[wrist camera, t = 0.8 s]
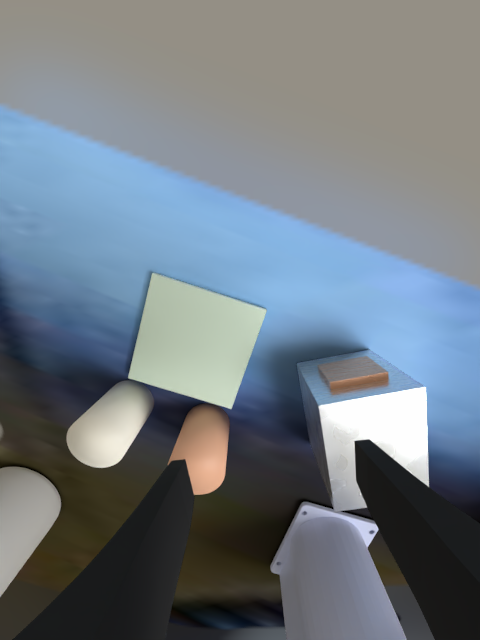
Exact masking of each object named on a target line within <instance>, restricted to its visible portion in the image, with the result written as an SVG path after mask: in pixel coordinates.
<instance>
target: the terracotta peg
mask: <svg viewBox="0 0 480 640" xmlns="http://www.w3.org/2000/svg"><path fill="white" fill-rule="evenodd" d="M229 427H230V421H229V417H228V415H227V414H226V412H225V411H224V410H223V409H222V408H220V407H219V406H217V405H214V404H208V403H205V404H199V405H197V406H195V407H193V408H192V409H191V410H190V411H189V412H188V414H187V416H186V418H185V421H184V424H183V426H182V429H181V431H180V434H179V437H178V439H177V442H176V444H175V447H174V449H173V452H172V455H171V457H170V460H169V462H168V465H169V463H170V462H171V461H173V460H182V459H185V460H186V464H187V468H188V472H189V476H190V481H191V485H192V489H193V493H194V494H195V495H201V494H207V493H210V492H212V491H214V490H216V489H217V488H218V487H219V486H220V485H221V484H222V482H223V480H224V477H225V469H226V459H227V448H228V438H229Z"/></svg>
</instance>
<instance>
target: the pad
mask: <svg viewBox="0 0 480 640" xmlns="http://www.w3.org/2000/svg"><path fill="white" fill-rule="evenodd" d="M266 311H267V310H266V309H265V308H262V307H259V306H256V305H253V304H250V303H247V302H244V301H241V300H238V299H235V298H231V297H228V296H225V295H222V294H219V293H216V292H213V291H210V290H207V289H204V288H201V287H198V286H195V285H192V284H188V283H185V282H182V281H179V280H176V279H173V278H170V277H167V276H164V275H161V274H158V273H152V276H151V281H150V285H149V289H148V294H147V298H146V302H145V307H144V311H143V315H142V320H141V324H140V328H139V333H138V337H137V341H136V346H135V350H134V354H133V359H132V363H131V367H130V372H129V376H128V378H129V379H133V380H136V381H139V382H143V383H146V384H149V385H153V386H156V387H159V388H163V389H166V390H169V391H173V392H176V393H179V394H183V395H186V396H189V397H193V398H196V399H199V400H203V401H206V402H209V403H213V404H216V405H219V406H223V407H226V408H229V409H232V406H233V403H234V400H235V398H236V395H237V392H238V389H239V386H240V384H241V381H242V378H243V375H244V373H245V370H246V367H247V364H248V361H249V359H250V356H251V353H252V350H253V347H254V345H255V342H256V339H257V336H258V334H259V331H260V328H261V325H262V322H263V320H264V317H265V314H266Z"/></svg>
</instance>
